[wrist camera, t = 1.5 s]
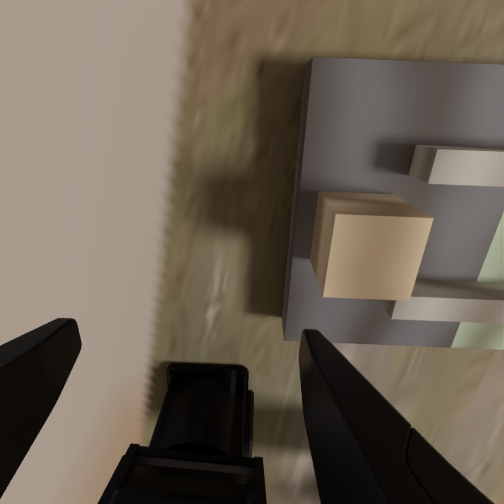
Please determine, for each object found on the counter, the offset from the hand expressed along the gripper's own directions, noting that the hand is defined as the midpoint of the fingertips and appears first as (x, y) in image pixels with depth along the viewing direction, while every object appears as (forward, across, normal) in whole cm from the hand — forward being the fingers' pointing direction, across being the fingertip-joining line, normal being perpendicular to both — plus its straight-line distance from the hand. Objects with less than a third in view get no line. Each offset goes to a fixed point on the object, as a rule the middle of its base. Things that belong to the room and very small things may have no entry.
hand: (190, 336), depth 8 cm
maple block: (+10, -7, 0) cm, 12 cm away
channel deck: (+12, -15, 0) cm, 19 cm away
